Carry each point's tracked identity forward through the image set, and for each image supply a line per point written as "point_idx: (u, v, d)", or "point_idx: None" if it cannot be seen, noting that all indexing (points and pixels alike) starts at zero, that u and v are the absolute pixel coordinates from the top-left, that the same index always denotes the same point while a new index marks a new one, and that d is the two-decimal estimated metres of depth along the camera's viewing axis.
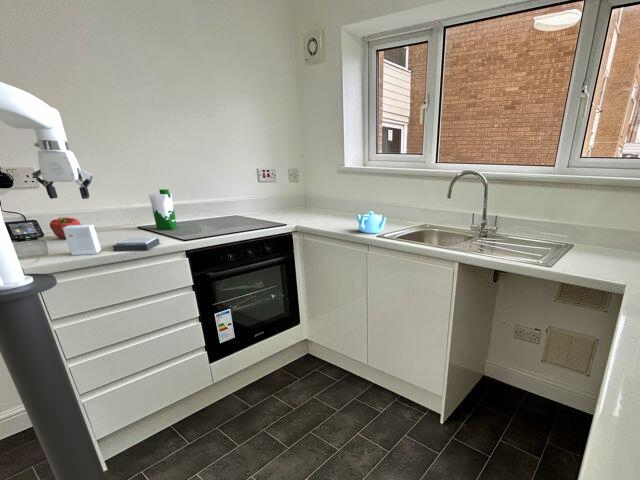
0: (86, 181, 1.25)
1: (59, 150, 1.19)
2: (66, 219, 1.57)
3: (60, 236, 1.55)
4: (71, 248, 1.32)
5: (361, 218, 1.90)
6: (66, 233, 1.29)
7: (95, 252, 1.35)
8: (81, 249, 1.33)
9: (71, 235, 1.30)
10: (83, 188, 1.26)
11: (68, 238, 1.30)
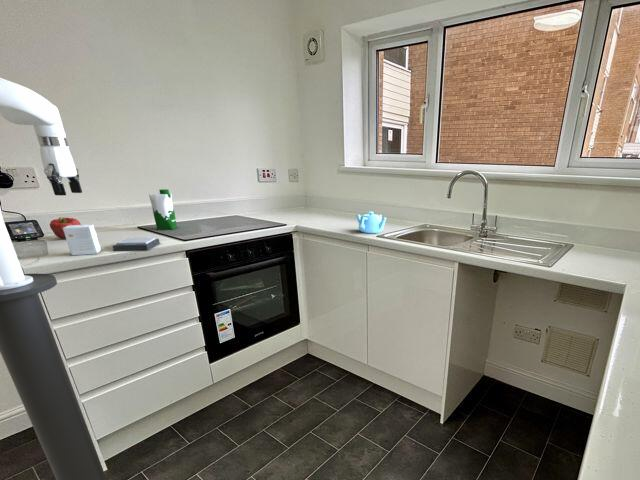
0: None
1: (40, 145, 1.19)
2: (66, 219, 1.57)
3: (60, 236, 1.55)
4: (71, 248, 1.32)
5: (361, 218, 1.90)
6: (66, 233, 1.29)
7: (95, 252, 1.35)
8: (81, 249, 1.33)
9: (71, 235, 1.30)
10: None
11: (68, 238, 1.30)
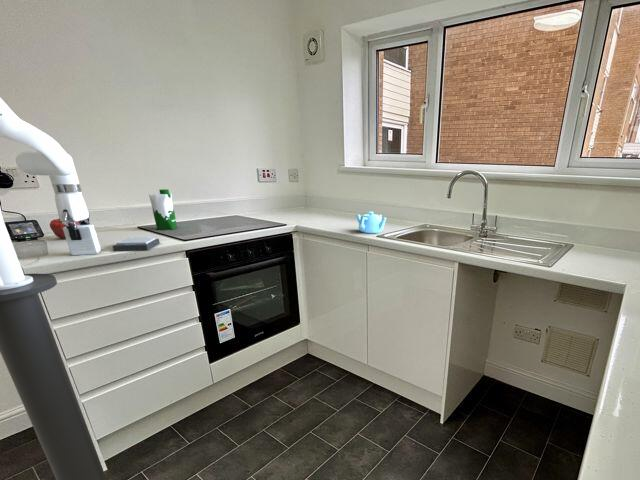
0: None
1: (55, 192, 1.25)
2: None
3: (60, 236, 1.55)
4: (71, 248, 1.32)
5: (361, 218, 1.90)
6: (66, 233, 1.29)
7: (95, 252, 1.35)
8: (81, 249, 1.33)
9: None
10: None
11: (68, 238, 1.30)
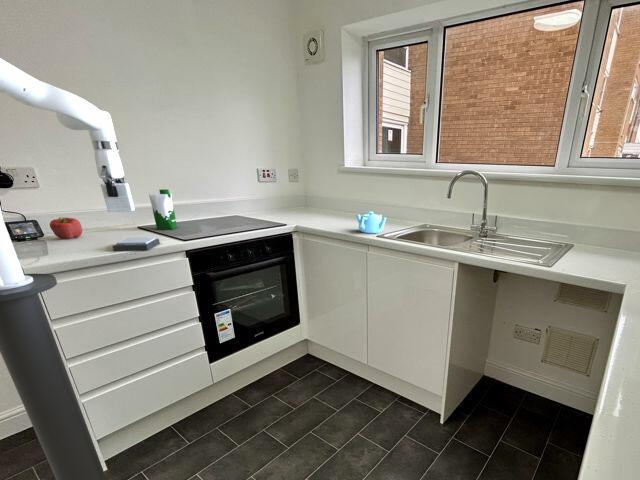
0: None
1: (94, 149, 1.30)
2: (66, 219, 1.57)
3: (60, 236, 1.55)
4: (108, 205, 1.36)
5: (361, 218, 1.90)
6: (104, 190, 1.34)
7: (130, 210, 1.40)
8: (117, 206, 1.37)
9: None
10: None
11: (105, 195, 1.35)
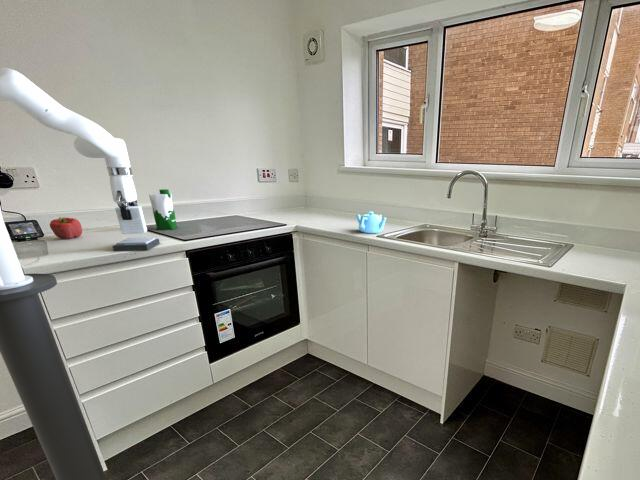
0: None
1: (109, 175, 1.35)
2: (66, 219, 1.57)
3: (60, 236, 1.55)
4: (122, 227, 1.41)
5: (361, 218, 1.90)
6: (118, 213, 1.39)
7: (143, 232, 1.45)
8: (130, 229, 1.43)
9: None
10: None
11: (120, 218, 1.40)
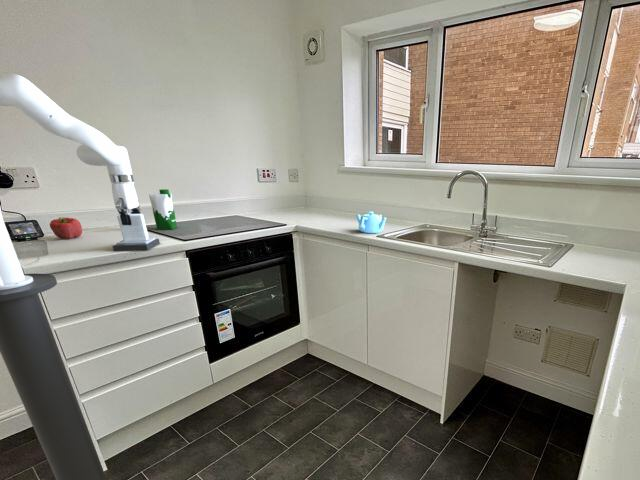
0: None
1: (111, 182, 1.36)
2: (66, 219, 1.57)
3: (60, 236, 1.55)
4: (124, 235, 1.42)
5: (361, 218, 1.90)
6: (120, 221, 1.40)
7: (145, 239, 1.46)
8: (132, 236, 1.44)
9: None
10: None
11: (121, 226, 1.41)
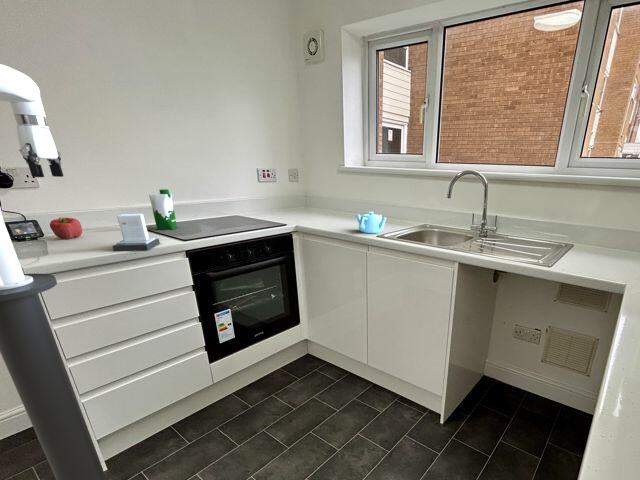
0: None
1: (17, 124, 1.14)
2: (66, 219, 1.57)
3: (60, 236, 1.55)
4: (124, 235, 1.42)
5: (361, 218, 1.90)
6: (120, 221, 1.40)
7: (145, 239, 1.46)
8: (132, 236, 1.44)
9: (124, 223, 1.41)
10: None
11: (121, 226, 1.41)
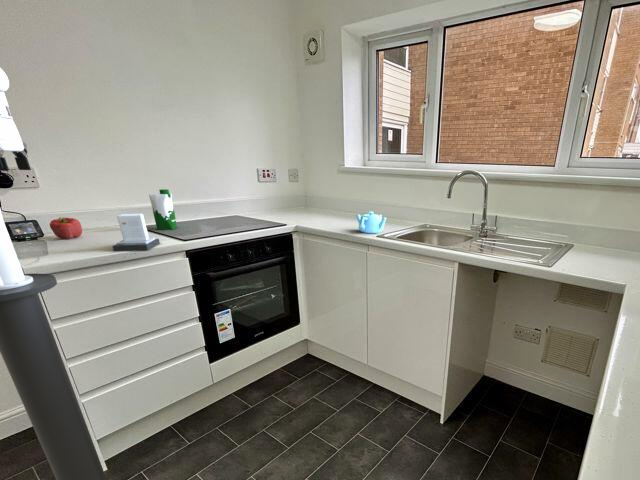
0: None
1: None
2: (66, 219, 1.57)
3: (60, 236, 1.55)
4: (124, 235, 1.42)
5: (361, 218, 1.90)
6: (120, 221, 1.40)
7: (145, 239, 1.46)
8: (132, 236, 1.44)
9: (124, 223, 1.41)
10: None
11: (121, 226, 1.41)
